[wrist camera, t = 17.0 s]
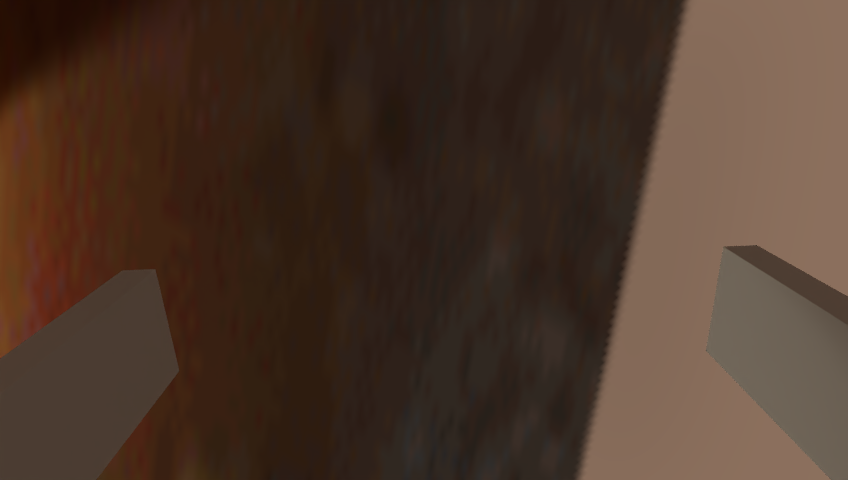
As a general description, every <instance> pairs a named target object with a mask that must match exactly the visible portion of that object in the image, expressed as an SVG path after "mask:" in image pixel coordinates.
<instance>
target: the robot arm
mask: <svg viewBox="0 0 848 480" xmlns="http://www.w3.org/2000/svg"><path fill="white" fill-rule="evenodd" d="M706 351H707V352H708V353H709V354H710V355H711V356H712V357H713V358H714V359H715V361H716V362H717V363H718V364H719V365H720V366H721V367H722V368H723V369H724V370H725V371H726V372H727V373H728V374H729V375H730V376H731V377H732V378H733V379H734V380H735V381H736V382H737V383H738V384H739V385H740V386H741V387H742V388H743V389H744V390H745V391H746V392H747V393H748V395H749V396H750V397H751V398H752V399H753V400H754V401H755V402H756V403H757V404H758V405H759V406H760V407H761V408H762V409H763V410H764V411H765V412H766V413H767V414H768V415H769V416H770V417H771V418H772V419H773V420H774V421H775V422H776V423H777V424H778V425H779V427H780V428H781V429H782V430H783V431H784V432H785V433H786V434H788V436H789V437H790V438H791V439H792V440H793V441H794V442H795V443H796V444H797V445H798V446H799V447H800V448H801V449H802V450H803V451H804V452H805V453H806V454H807V455H808V456H809V457H810V458H811V459H812V461H813V462H815V464H816V465H817V466H818V467H819V468H820V469H821V470H822V471H823V472H824V473H825V474H826V475H827V476H828V477H829V478H830V479H831V480H848V296H846V295H844V294H842V293H840V292H839V291H837V290H835V289H833V288H831V287H830V286H828V285H826V284H825V283H823V282H821V281H819V280H817V279H816V278H813V277H812V276H810V275H809V274H807V273H805V272H803V271H801V270H800V269H798V268H796V267H794V266H792V265H791V264H789V263H787V262H785V261H784V260H782V259H780V258H778V257H777V256H775V255H773V254H771V253H769V252H768V251H766V250H764V249H762V248H761V247H758V246H757V245H755V246H754V245H753V246H728V247H723V252H722V258H721V264H720V270H719V276H718V282H717V288H716V294H715V300H714V306H713V313H712V318H711V324H710V330H709V336H708V342H707V348H706ZM178 372H179V369H178V364H177V360H176V356H175V352H174V347H173V343H172V339H171V334H170V330H169V326H168V322H167V317H166V313H165V309H164V305H163V300H162V296H161V292H160V288H159V283H158V279H157V275H156V271H155V269H151V270H126V271H121V272H120V273H118V274H117V275H116V276H114V277H113V278H111V279H110V280H109V281H107V282H106V283H105V284H103V285H102V286H100V287H99V288H98V289H96V290H95V291H93V292H92V293H91V294H89V295H88V296H87V297H85V298H84V299H82V300H81V301H80V302H78V303H77V304H75V305H74V306H73V307H71V308H70V309H69V310H67V311H66V312H64V313H63V314H62V315H60V316H59V317H57V318H56V319H55V320H53V321H52V322H51V323H49V324H48V325H46V326H45V327H44V328H42V329H41V330H39V331H38V332H37V333H35V334H34V335H33V336H31V337H30V338H28V339H27V340H26V341H24V342H23V343H21V344H20V345H19V346H17V347H16V348H15V349H13V350H12V351H10V352H9V353H8V354H6V355H5V356H3V357H2V358H1V359H0V480H96V479H97V478H98V477H99V475H100V474H101V473H102V471H103V470H104V469H105V467H106V466H107V465H108V463H109V462H110V461H111V459H112V458H113V457H114V456H115V454H116V453H117V452H118V450H119V449H120V448H121V446H122V445H123V444H124V442H125V441H126V440H127V439H128V437H129V436H130V435H131V433H132V432H133V431H134V429H135V428H136V427H137V425H138V424H139V423H140V422H141V420H142V419H143V418H144V416H145V415H146V414H147V412H148V411H149V410H150V408H151V407H152V406H153V405H154V403H155V402H156V401H157V399H158V398H159V397H160V395H161V394H162V393H163V391H164V390H165V389H166V387H167V386H168V385H169V384H170V382H171V381H172V380H173V378H174V377H175V376H176V374H177V373H178Z"/></svg>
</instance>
